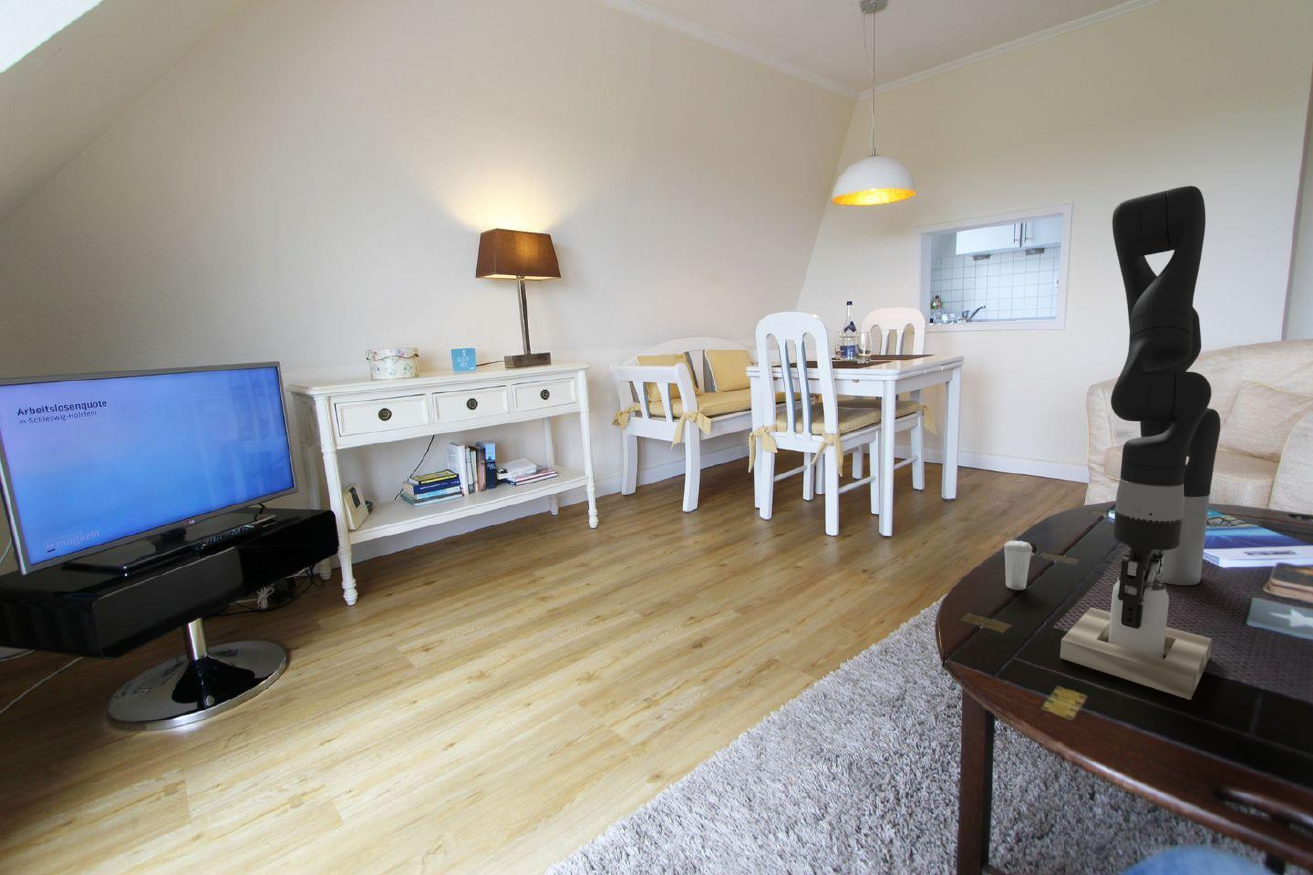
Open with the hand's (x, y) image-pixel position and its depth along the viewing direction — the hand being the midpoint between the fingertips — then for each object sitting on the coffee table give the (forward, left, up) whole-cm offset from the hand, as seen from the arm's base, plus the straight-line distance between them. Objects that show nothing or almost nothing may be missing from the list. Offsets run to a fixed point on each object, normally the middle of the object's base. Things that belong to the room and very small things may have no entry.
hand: (1138, 616), depth 89 cm
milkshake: (-15, -22, -7) cm, 27 cm away
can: (0, 0, -7) cm, 7 cm away
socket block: (0, 0, -7) cm, 7 cm away
